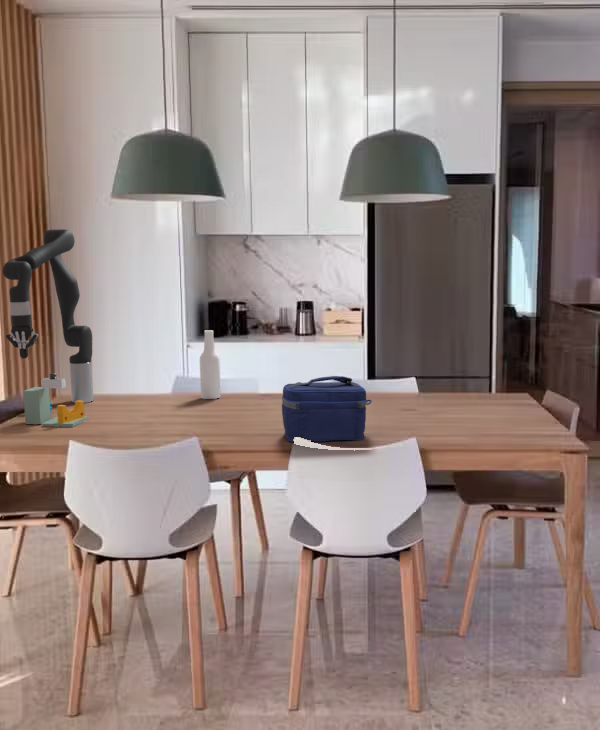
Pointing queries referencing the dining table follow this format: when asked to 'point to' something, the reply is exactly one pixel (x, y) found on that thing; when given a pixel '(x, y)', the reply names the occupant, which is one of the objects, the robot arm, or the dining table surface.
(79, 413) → the yellow notched block
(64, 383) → the grey block
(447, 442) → the dining table surface
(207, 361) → the alcohol
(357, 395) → the lunch bag
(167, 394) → the dining table surface
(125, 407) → the dining table surface
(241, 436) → the dining table surface
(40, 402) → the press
